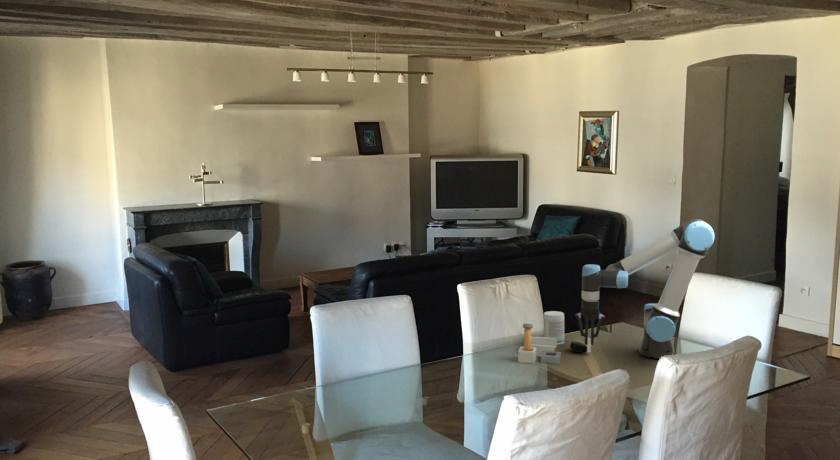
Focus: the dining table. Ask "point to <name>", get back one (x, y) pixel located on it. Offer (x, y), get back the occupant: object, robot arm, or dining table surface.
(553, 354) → the pin mount
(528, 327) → the lock pin
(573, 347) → the tape measure
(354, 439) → the dining table surface
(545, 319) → the supplement tub
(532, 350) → the socket block
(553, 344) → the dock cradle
